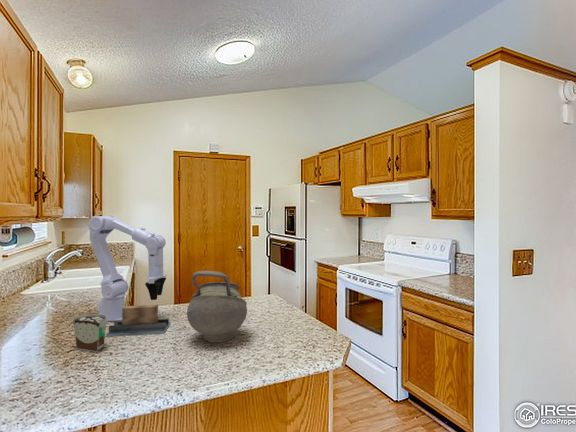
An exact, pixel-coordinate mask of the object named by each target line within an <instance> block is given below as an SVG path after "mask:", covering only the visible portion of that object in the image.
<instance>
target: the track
mask: <svg viewBox="0 0 576 432" xmlns="http://www.w3.org/2000/svg"><path fill="white" fill-rule="evenodd" d="M170 325H171V321H170V319H169V318H158V323H151V324H131V325H122V320H120V321H113V325H109V326H108V332H107V333H105V338H107V337H108V338H109V337H123V336H125V335H128V336H141V335H142V336H145V335H160V334H161V335H162V334H165V333H166V331H167V330H168V329H169V327H170Z"/></svg>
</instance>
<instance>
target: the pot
mask: <svg viewBox="0 0 576 432" xmlns="http://www.w3.org/2000/svg"><path fill="white" fill-rule="evenodd" d="M196 277H212V278H213V277H214V278H220V279H223V280H224V281H214V282H213V281H212V282H205V283H203V284H201V285H199V284H198V283H197V282H198V281H196ZM191 281H192V284H193V285H194V287H195V289H196V292H195V293H194V294H192V295H191V297H192V298H191V299H190V300H189V302H188V303H189V304H188V306H187V308H186V309H187V310H186V317H187V321H188V323H189V325H190V327H191V328H192V329H193V330H195V331H196V332H197V333H199V334H201V335H202V337H203V339H204V341H207V342H211V343H221V342H228V341H229V340H231V339H232V338H233V337H234V336H235V335H234V333H235V331H237V330H238V329H240V328H241V326H242V325H243V324H244V323H245V322H244V321H246V318H247V314H248V308H247V301H246V300H245V299H243V297H242V295H241V294H240V293H239V290H240V286H239V285H238V284H236V283H233V282H230V278H229V276H228V275H226V274H225V273H223V272H220V271H215V270H213V271H212V270H199V271H196V272H194V273H193V274H192V276H191Z"/></svg>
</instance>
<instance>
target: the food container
mask: <svg viewBox="0 0 576 432" xmlns="http://www.w3.org/2000/svg"><path fill="white" fill-rule="evenodd" d="M108 324H109V321H108V320H107V318H106V316H105V315H100V314H99V313H95V314H85V315H81V316H76V317H73V320H72V325H73V326H74V327H73V328H74V339H75V348H76V350H83V351H86V352H87V351H88V352H93V353H99V352H101V351H102V350H104V348H105V338H106V326H107V325H108Z"/></svg>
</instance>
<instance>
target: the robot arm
mask: <svg viewBox="0 0 576 432" xmlns="http://www.w3.org/2000/svg"><path fill="white" fill-rule="evenodd" d="M87 227H88V230H89V241H90V244H91V247H92V249H93V253H94V254H95V258H96V261H97V263H98V266H99V269H100V272H101V274H102V277H103V278H102V280H101V282H100V286H101V290H100V292H101V296H102V297H103V298H100V300H99V301H98V302H99V303H98V314H100V315H105V316H106V318H107V320H108V322H115V321H122V308H124V307H125V306H126V305H125V304H126V300H125V299H126V297H125V296H126V293H127V292H128V290H129V284H128V282H127V281H126V280H125V279H124V276H123V275H122V274H120V273H118V270H117V268H116V264H115V262H114V259H113V256H112V254H111V252H110V248H109V245H108V242H107V240H106V239H107V237H108V235H110V234H111V233H112V232H113V231H114V230H118V231H120V232H122V233H124V234H126V235H129V236H130V237H131V239H132V241H135V242H136V243H139V244H141V245H143V246H145V248H146V250H147V255H148V257H147V258H148V277H147V279H148V281H147V282H145V287H146V289H147V290H148V294H149V298H150V300H151V301H156V300H157V299H158V296H162V294H163V289H164V285H165V282H166V279H167V274H164V248H165V246H166V243H167V242H166V239H165V237H163V236H162V235H160V234H159V235H156V233H155V232H150V231H147V230H146V228H145V227H137V228H135V226H132V225H130V224H129V223H127V222H124V221H123V220H121V219H119V217H115V216H113V215H100V216H99V215H94V216H92V217H91V218H90V219H89V221H88V223H87Z"/></svg>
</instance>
